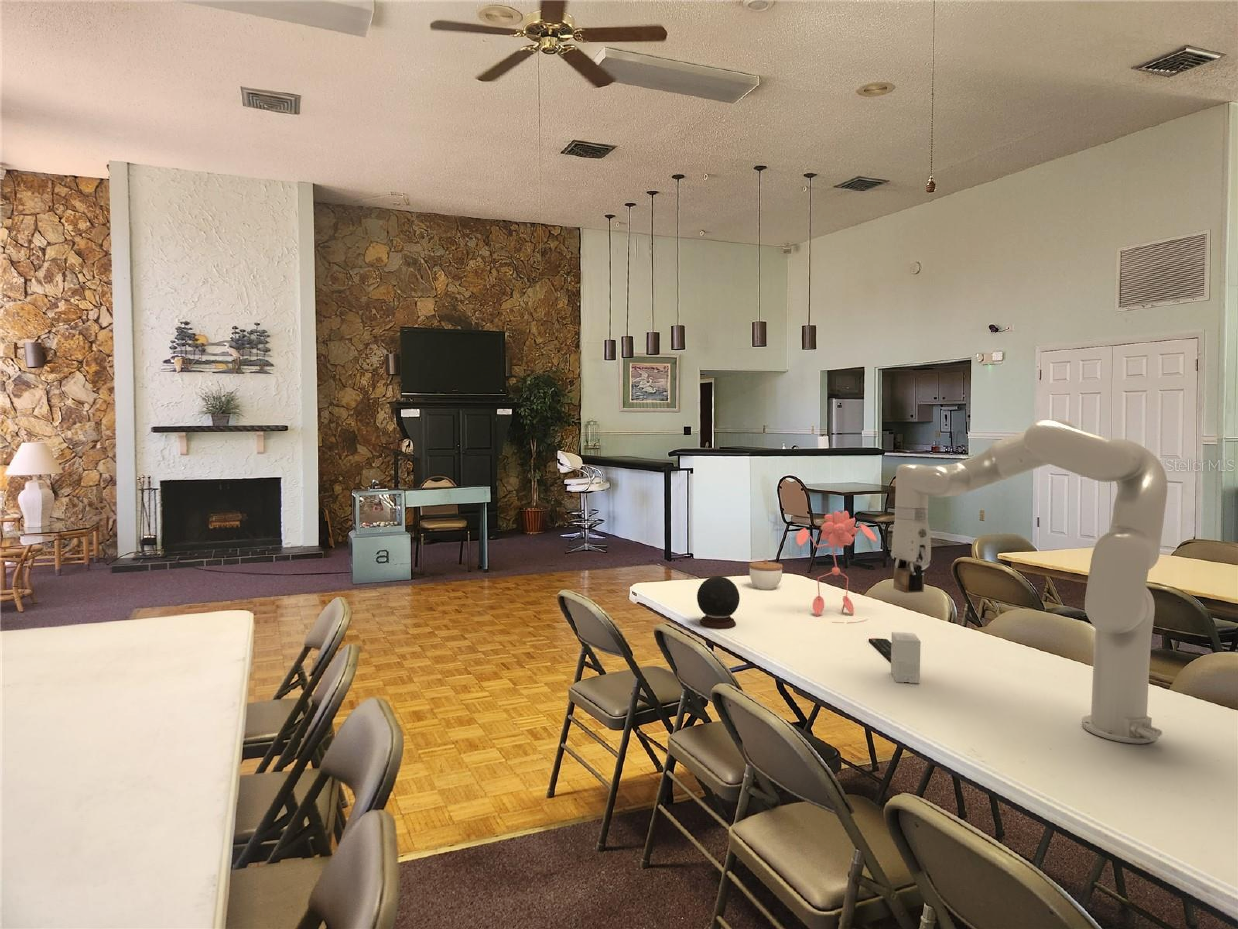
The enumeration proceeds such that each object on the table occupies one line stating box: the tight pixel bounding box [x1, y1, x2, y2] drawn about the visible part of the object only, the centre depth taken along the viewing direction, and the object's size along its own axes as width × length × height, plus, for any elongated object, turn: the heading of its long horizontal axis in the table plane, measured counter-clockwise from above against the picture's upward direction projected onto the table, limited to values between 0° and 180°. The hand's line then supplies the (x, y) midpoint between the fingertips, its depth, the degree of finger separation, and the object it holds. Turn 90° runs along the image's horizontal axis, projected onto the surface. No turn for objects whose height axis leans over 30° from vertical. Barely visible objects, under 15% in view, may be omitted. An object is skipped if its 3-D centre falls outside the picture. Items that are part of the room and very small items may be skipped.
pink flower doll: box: [796, 510, 878, 624], centre depth 245 cm, size 15×26×35 cm, turn 95°
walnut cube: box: [892, 567, 925, 594], centre depth 185 cm, size 5×5×5 cm
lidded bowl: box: [748, 558, 784, 591], centre depth 289 cm, size 13×13×11 cm
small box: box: [890, 631, 922, 684], centre depth 186 cm, size 8×6×10 cm
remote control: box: [868, 637, 892, 664], centre depth 207 cm, size 5×24×1 cm, turn 178°
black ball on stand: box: [696, 575, 740, 630], centre depth 235 cm, size 13×13×15 cm
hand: (908, 587), depth 185 cm, fingers closed on walnut cube, 4 cm apart
